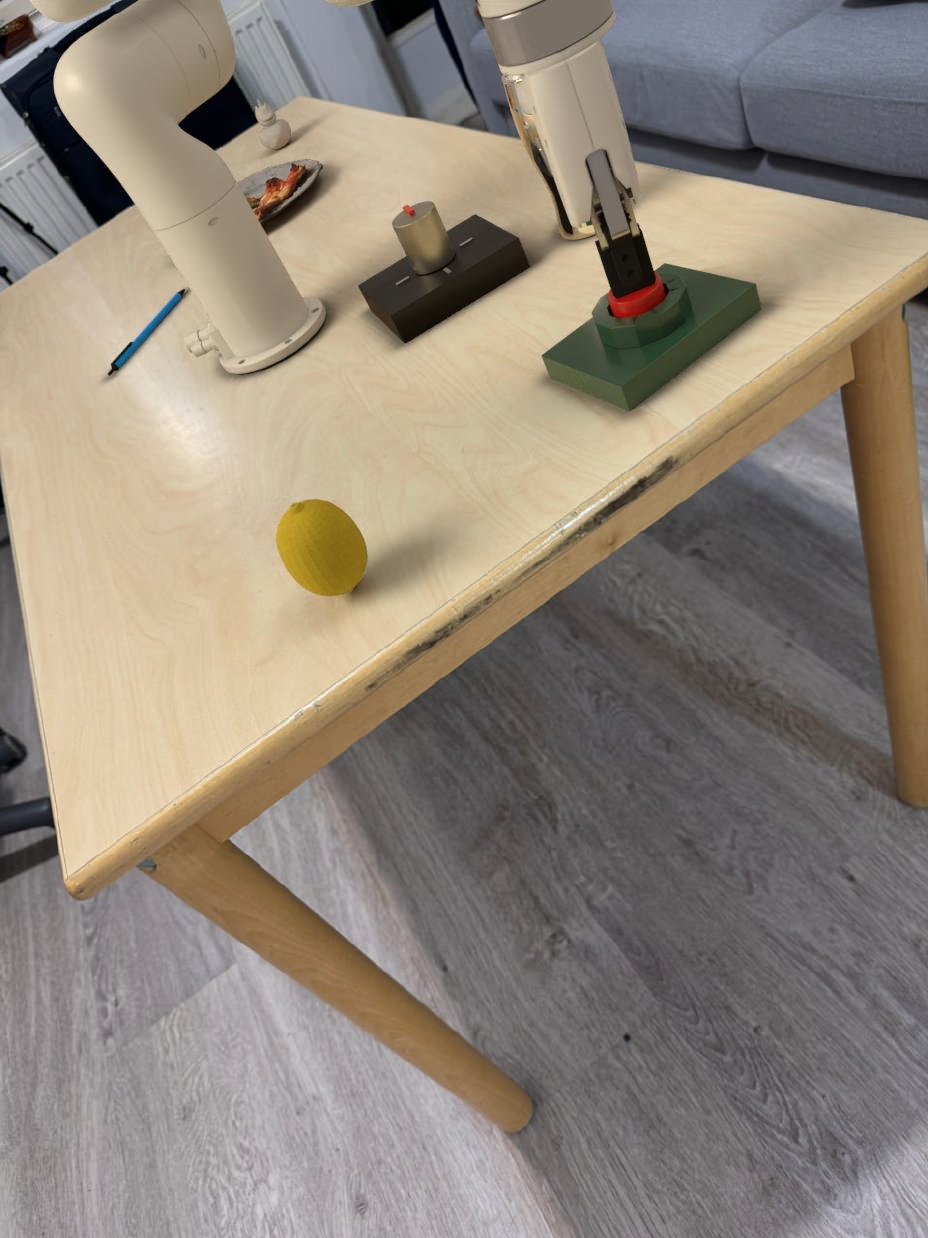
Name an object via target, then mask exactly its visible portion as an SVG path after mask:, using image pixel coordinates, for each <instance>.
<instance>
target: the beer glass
mask: <svg viewBox="0 0 928 1238" xmlns="http://www.w3.org/2000/svg"><path fill="white" fill-rule="evenodd" d="M500 79H501V82H502V85H503V88H504V91H505V95H506V99H507V102H508V106H509V109H510V113H511V116H512V119H513V123H514V126H515V128H516V131H517V134H518V135H519V139H520V140H521V143H522V145H523V147H524V150H525V151H526V153H527V155H528V157H529V158H530V160H531V162H532V164H533V166H534V167H535V169H536V171H537V173H538V175H539V176H540V178H541V180H542V182H543V183H544V185H545V187H546V189H547V191H548V193H549V195H550V198H551V200H552V203H553V207H554V211H555V217H556V224H557V228H558V233H559V235H560V237H561V238H562V239H564V240H568V241H578V240H583V239H587V238H590V237H592V236H595V235H596V233H595V230H594V227H593V224H592V221H591V218H590V221H588V222H585V223H583V224H581V225H582V228H580V229H579V228H576V227H573V226H572V225H571V224H570V221H569V219H568V216H567V213H566V210H565V208H564V205H563V202H562V199H561V197H560V194H559V191H558V189H557V186H556V183H555V180H554V177H553V174H552V172H551V169H550V165H549V163H548V160H547V158H546V155H545V152H544V149H543V146H542V142H541V140H540V137H539V134H538V132H537V129H536V126H535V123H534V120H533V117H532V114H531V111H530V108H529V104H528V101H527V98H526V94H525V91H524V87H523V84H522V80H521V76H520V75H513V76H509V75H504V74H502V75H501V78H500Z"/></svg>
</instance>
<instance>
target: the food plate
mask: <svg viewBox="0 0 928 1238" xmlns="http://www.w3.org/2000/svg"><path fill="white" fill-rule="evenodd" d="M323 169H324V164H322V163H321V162H320V161H318V160H313V159H311V158H303V159H301V160H300V159H298V160H293V161H287V162H284V163H279V164H275V165H272V166H267V167H266V168H263V169H261V170H258V171H256V172H253V173H251V174H250V175H248V176H246V177H243V178H242V179H241V180H238V181H236V182H237V183H238V185H239V187H240V189H241V190H242V192H243V194H244V196H245V198H246V199H247V201H248V203H249V205H250V206H251V208H252V210H253V212H254V213H255V215H256V217H257V219H258V221H259V222H260V224H261V225H263V224H264V223H266V222H267V221H268V220H270V219H271V218H274V217H276V216H277V215H280V213H282V212H283V211H284V210H285V209H286V208H287V207H288V206H290V205H291V204H292V203H293V202H294V201H295V200H297V199H298V198H299V197H300V196H301V195H303V193H305V192H307V191H308V190H311V187H312V186H313V185H314V184H315V182H317V180H318V178H319V176H320V173H321V171H322V170H323Z"/></svg>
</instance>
